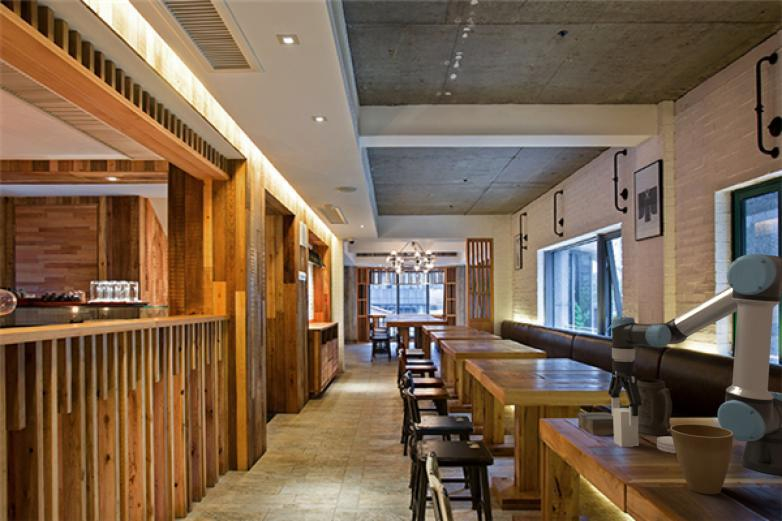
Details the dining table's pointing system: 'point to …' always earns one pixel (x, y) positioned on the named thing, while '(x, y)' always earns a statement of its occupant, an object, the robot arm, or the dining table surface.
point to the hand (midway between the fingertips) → (624, 420)
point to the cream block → (624, 429)
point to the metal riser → (596, 423)
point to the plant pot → (703, 455)
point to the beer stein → (654, 407)
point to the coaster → (666, 444)
